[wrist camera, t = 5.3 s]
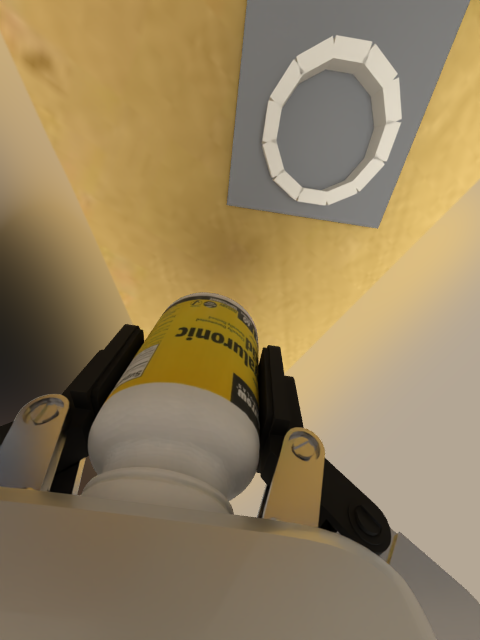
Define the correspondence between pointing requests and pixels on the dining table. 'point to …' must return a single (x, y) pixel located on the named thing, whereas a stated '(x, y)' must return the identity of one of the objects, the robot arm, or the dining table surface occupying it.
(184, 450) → the supplement bottle
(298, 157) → the pin board
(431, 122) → the dining table surface
